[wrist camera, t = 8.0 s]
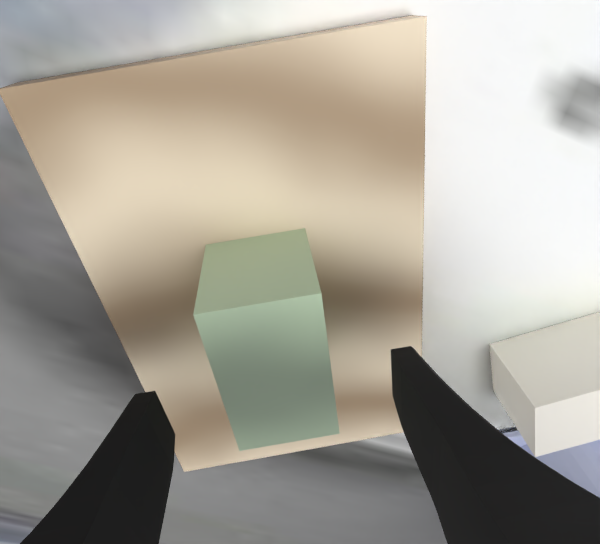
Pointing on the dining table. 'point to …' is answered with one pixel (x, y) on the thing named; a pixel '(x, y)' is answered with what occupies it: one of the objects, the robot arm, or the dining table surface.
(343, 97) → the birch board
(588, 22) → the dining table surface
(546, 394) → the ivory brick
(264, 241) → the green brick
